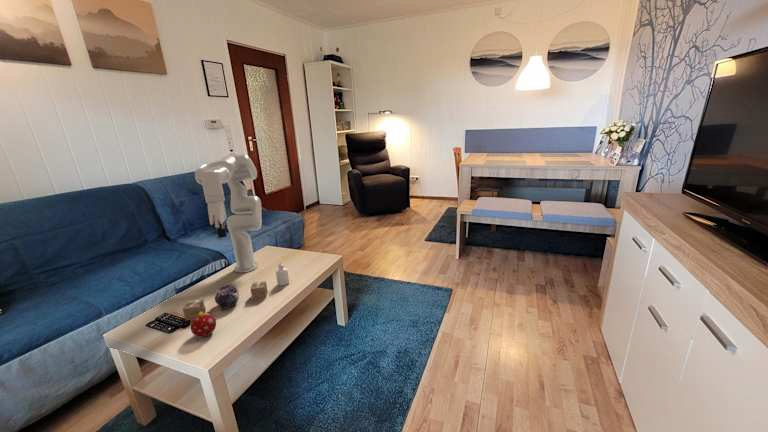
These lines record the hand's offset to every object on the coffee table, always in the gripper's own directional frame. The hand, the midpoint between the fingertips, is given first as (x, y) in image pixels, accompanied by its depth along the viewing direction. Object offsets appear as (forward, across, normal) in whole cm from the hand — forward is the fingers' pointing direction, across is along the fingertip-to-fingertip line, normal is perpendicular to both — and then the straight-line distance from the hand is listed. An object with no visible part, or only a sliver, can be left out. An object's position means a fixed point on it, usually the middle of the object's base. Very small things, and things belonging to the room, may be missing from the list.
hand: (222, 236), depth 143 cm
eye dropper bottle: (+29, -2, +23) cm, 37 cm away
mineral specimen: (+29, +11, 0) cm, 31 cm away
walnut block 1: (+29, +7, +13) cm, 33 cm away
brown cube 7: (+29, +16, -12) cm, 35 cm away
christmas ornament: (+29, +31, -4) cm, 43 cm away
